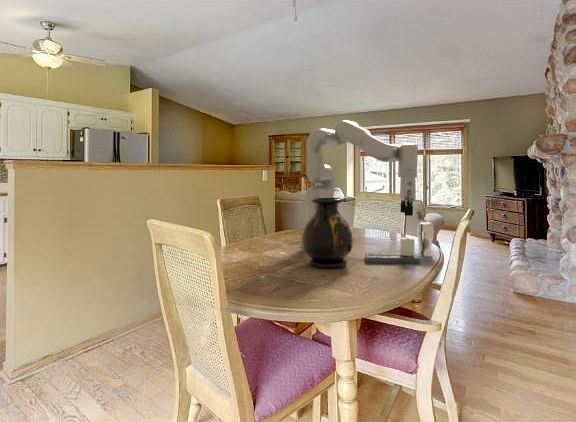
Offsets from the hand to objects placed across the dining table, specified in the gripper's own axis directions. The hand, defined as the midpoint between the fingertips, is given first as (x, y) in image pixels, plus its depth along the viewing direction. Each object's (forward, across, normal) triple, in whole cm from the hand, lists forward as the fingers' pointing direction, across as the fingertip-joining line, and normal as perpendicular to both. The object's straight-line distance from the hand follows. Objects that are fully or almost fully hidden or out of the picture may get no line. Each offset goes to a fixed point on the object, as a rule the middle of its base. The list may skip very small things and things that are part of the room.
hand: (406, 213), depth 151 cm
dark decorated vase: (+21, -9, +33) cm, 40 cm away
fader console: (+20, -1, +6) cm, 21 cm away
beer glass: (+21, +10, -10) cm, 25 cm away
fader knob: (+17, -1, -1) cm, 18 cm away
